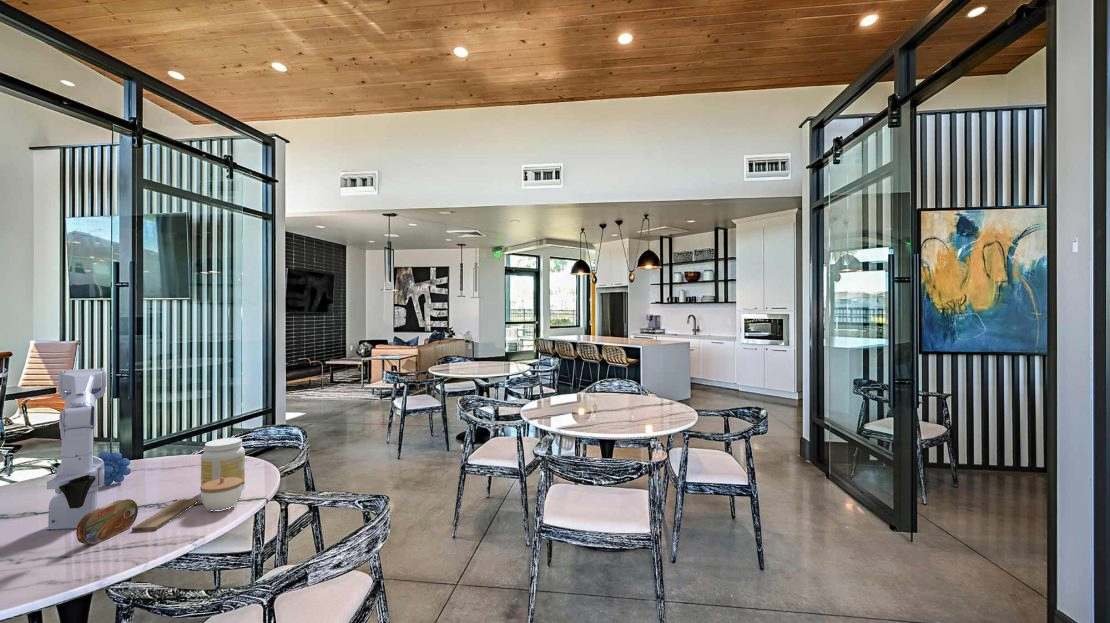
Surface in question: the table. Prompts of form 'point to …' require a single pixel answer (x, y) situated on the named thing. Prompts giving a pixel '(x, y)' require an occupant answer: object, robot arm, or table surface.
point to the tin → (106, 521)
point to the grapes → (114, 467)
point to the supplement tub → (223, 460)
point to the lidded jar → (221, 493)
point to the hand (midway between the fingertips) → (76, 507)
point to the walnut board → (164, 515)
